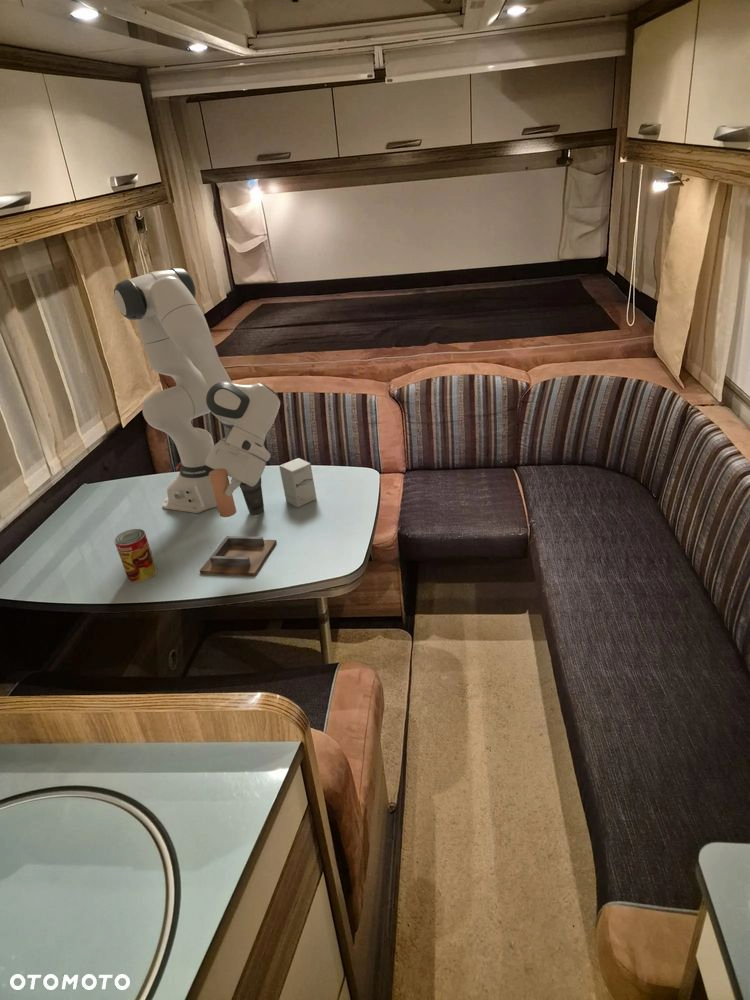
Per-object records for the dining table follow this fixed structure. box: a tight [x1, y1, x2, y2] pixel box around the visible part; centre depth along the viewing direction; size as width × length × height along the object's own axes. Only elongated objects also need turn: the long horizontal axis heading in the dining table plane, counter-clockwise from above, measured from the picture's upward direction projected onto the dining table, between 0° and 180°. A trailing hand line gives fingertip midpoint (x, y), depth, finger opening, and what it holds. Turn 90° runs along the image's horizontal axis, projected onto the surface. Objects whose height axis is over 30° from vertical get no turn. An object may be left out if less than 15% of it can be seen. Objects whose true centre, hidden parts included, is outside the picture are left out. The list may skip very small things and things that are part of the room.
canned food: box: [114, 528, 158, 583], centre depth 172 cm, size 8×8×12 cm
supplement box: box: [278, 457, 317, 508], centre depth 199 cm, size 7×7×13 cm
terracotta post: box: [209, 468, 237, 518], centre depth 166 cm, size 4×4×12 cm
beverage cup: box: [239, 476, 265, 517], centre depth 193 cm, size 7×7×20 cm
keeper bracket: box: [199, 535, 277, 577], centre depth 175 cm, size 16×16×4 cm
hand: (220, 491), depth 166 cm, fingers closed on terracotta post, 4 cm apart
